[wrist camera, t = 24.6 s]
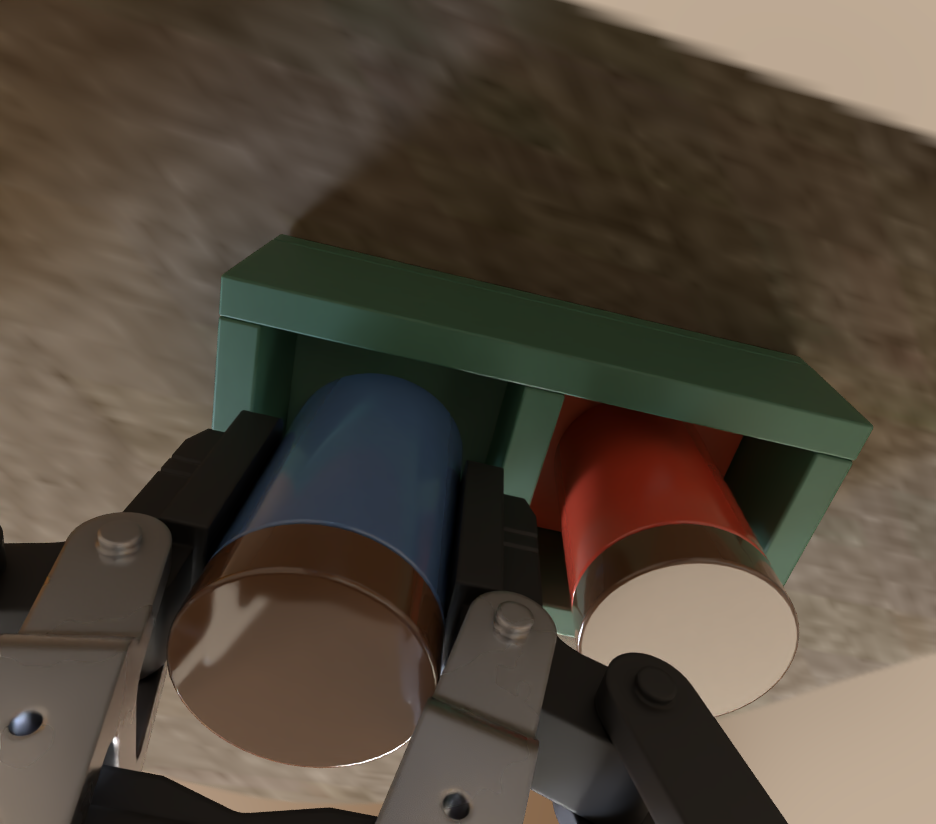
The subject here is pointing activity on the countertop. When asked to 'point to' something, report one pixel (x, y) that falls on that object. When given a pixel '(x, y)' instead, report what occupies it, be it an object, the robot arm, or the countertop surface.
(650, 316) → the countertop surface
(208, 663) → the blue and brown cylinder
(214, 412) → the caddy
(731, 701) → the red pot
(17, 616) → the robot arm
